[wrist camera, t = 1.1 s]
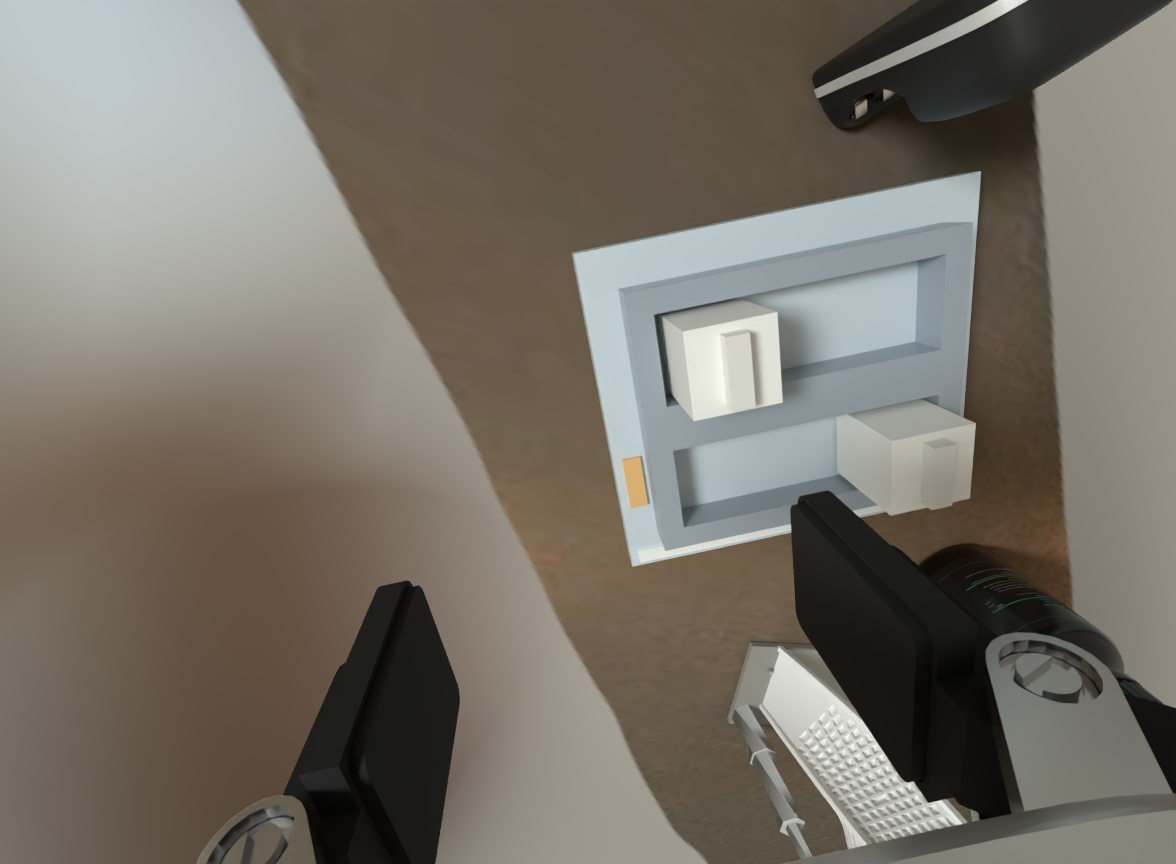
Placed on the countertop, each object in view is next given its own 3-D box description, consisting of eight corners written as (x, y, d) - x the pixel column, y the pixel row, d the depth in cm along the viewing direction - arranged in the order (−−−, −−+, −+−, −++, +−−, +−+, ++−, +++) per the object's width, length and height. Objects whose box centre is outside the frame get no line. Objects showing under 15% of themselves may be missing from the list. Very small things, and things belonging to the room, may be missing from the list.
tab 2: (836, 407, 30) (902, 447, 24) (907, 392, 30) (989, 429, 25) (837, 472, 31) (900, 524, 26) (905, 457, 31) (982, 506, 26)
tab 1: (656, 312, 27) (687, 335, 22) (735, 296, 27) (785, 315, 22) (667, 389, 29) (698, 427, 23) (742, 373, 29) (790, 408, 23)
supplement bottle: (976, 626, 39) (1154, 789, 28) (887, 625, 38) (1034, 791, 27) (1012, 543, 37) (1222, 685, 25) (917, 539, 36) (1092, 683, 25)
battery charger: (831, 156, 27) (1027, 113, 16) (801, 79, 26) (992, -23, 15) (963, 71, 26) (1258, -33, 15) (938, -14, 25) (1242, -191, 14)
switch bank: (571, 252, 27) (576, 256, 24) (958, 173, 28) (1015, 167, 24) (628, 552, 34) (638, 587, 31) (940, 485, 34) (983, 512, 31)
